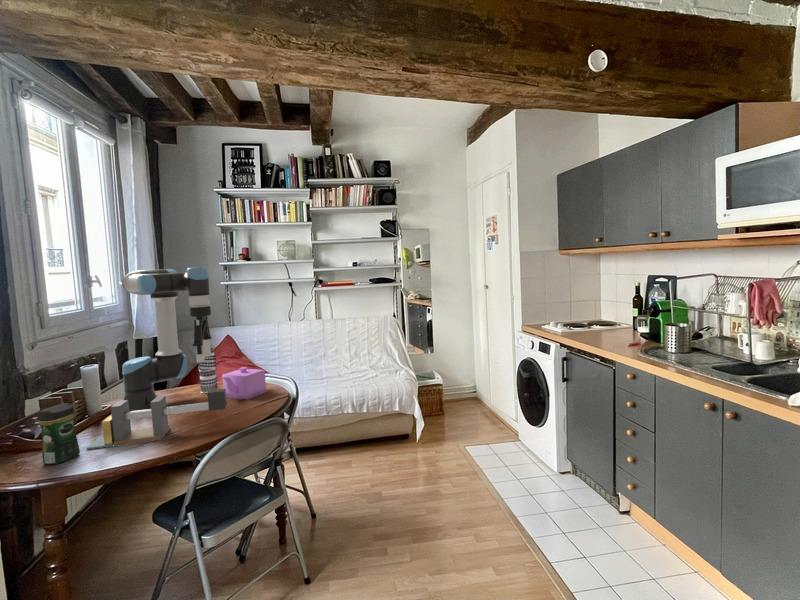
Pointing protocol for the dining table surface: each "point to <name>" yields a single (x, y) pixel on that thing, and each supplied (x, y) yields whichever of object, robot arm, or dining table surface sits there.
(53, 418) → the coffee jar
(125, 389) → the robot arm
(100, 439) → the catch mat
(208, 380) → the decorative candle
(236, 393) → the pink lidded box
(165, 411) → the shaft
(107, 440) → the spacer
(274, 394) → the dining table surface
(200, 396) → the dining table surface
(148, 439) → the bracket
